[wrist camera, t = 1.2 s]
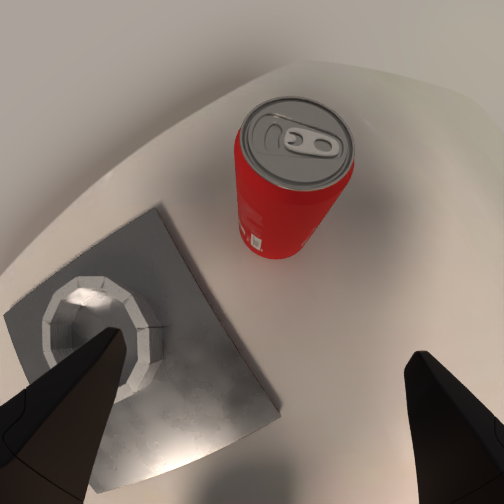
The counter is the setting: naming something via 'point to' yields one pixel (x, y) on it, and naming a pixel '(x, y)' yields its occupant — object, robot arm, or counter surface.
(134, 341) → the plate
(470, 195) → the counter surface
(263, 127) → the beverage can
